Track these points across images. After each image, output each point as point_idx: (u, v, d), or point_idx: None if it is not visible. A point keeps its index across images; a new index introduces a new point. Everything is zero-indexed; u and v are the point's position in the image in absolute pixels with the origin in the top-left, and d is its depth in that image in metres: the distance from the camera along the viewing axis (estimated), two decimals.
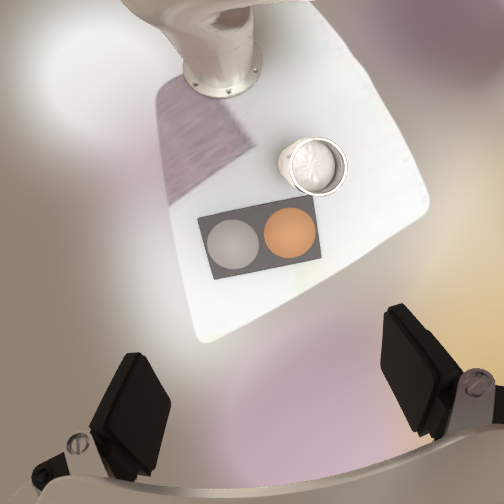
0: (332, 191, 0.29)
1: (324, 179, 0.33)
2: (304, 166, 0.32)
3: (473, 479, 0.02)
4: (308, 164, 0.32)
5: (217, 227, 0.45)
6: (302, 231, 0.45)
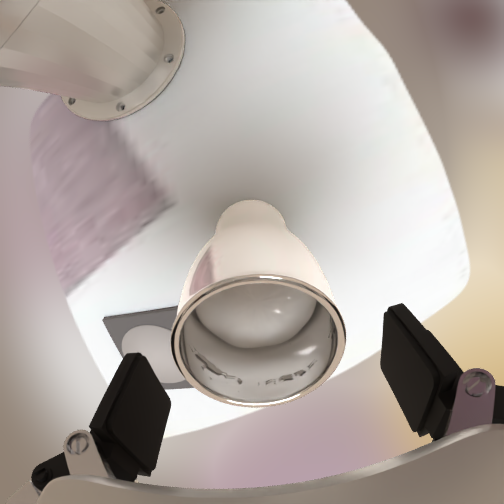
0: (295, 397, 0.11)
1: (288, 326, 0.14)
2: (237, 304, 0.13)
3: (473, 479, 0.02)
4: (248, 299, 0.13)
5: (131, 333, 0.26)
6: None
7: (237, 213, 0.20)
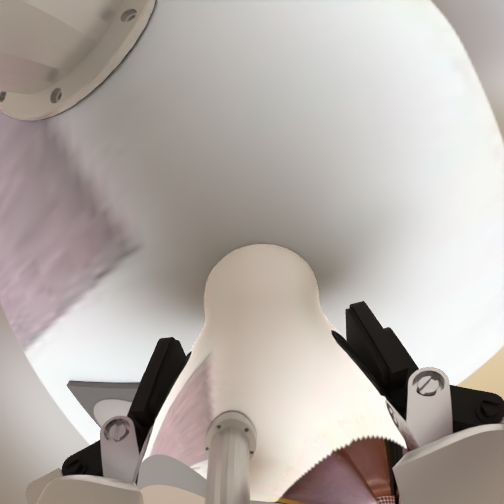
0: None
1: None
2: None
3: (473, 479, 0.02)
4: None
5: (103, 404, 0.17)
6: None
7: (239, 277, 0.11)
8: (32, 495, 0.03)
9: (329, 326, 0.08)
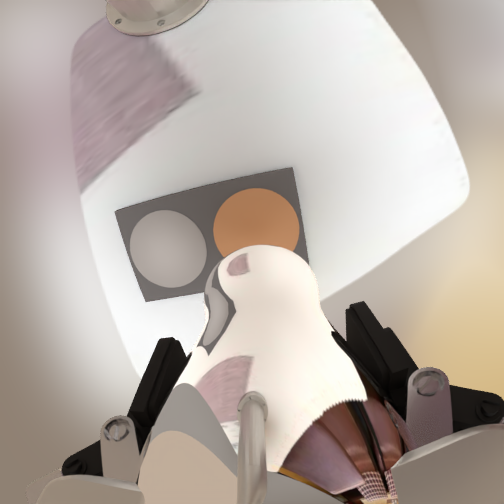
0: None
1: None
2: None
3: (473, 479, 0.02)
4: None
5: (142, 223, 0.27)
6: (276, 228, 0.28)
7: (239, 278, 0.11)
8: (32, 495, 0.03)
9: (329, 327, 0.08)
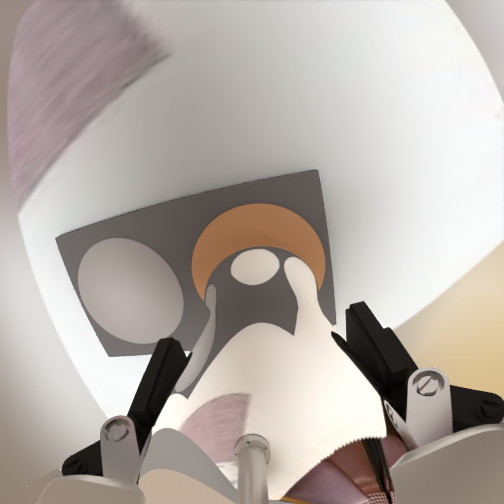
0: None
1: None
2: None
3: (473, 479, 0.02)
4: None
5: (91, 256, 0.17)
6: None
7: (239, 278, 0.11)
8: (32, 495, 0.03)
9: (329, 328, 0.08)
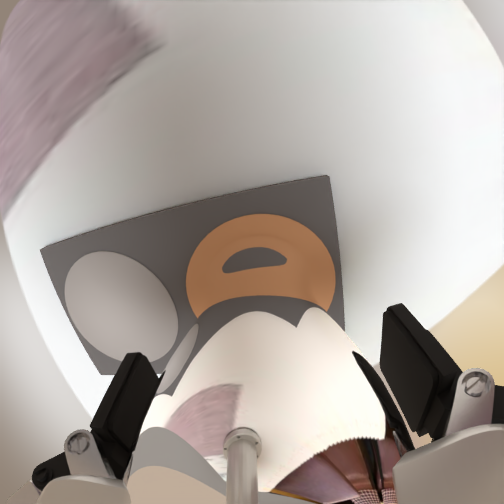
0: None
1: None
2: None
3: (473, 479, 0.02)
4: None
5: (77, 270, 0.15)
6: None
7: (237, 265, 0.12)
8: None
9: (319, 307, 0.09)
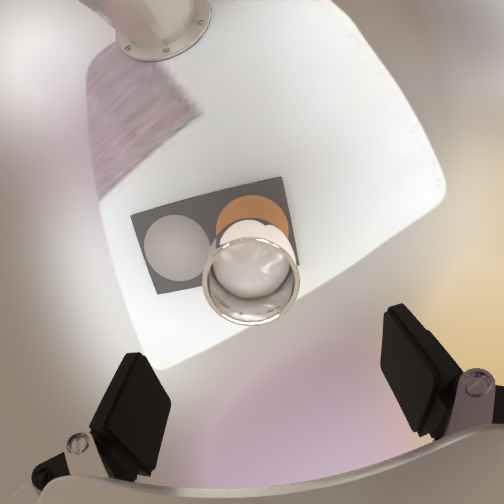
0: (274, 318, 0.19)
1: (272, 281, 0.23)
2: (240, 266, 0.22)
3: (473, 479, 0.02)
4: (246, 262, 0.22)
5: (155, 226, 0.32)
6: None
7: (240, 214, 0.29)
8: None
9: None
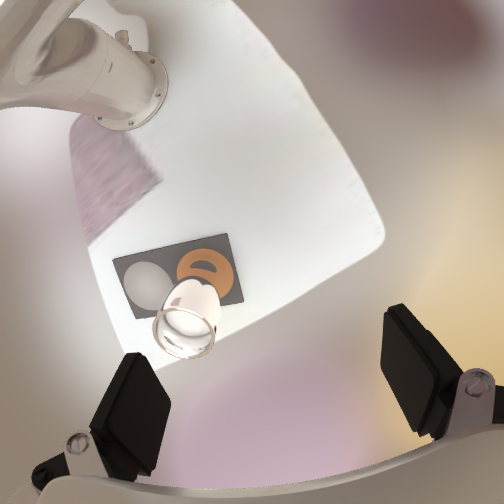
0: (200, 355, 0.27)
1: (205, 326, 0.31)
2: (182, 316, 0.30)
3: (473, 479, 0.02)
4: (186, 314, 0.30)
5: (131, 269, 0.40)
6: None
7: (192, 267, 0.37)
8: None
9: (208, 278, 0.34)
